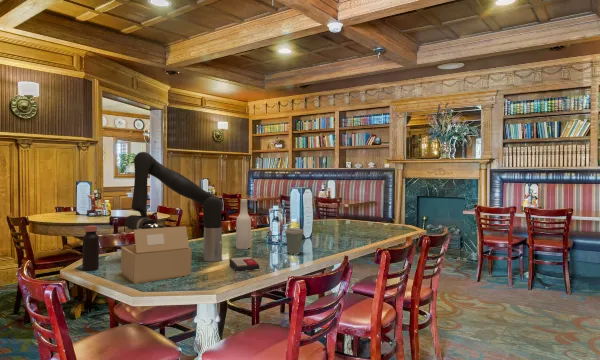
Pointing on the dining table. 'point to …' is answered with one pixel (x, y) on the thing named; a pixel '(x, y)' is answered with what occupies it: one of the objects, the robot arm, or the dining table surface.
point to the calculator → (243, 264)
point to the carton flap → (161, 239)
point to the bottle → (90, 249)
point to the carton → (155, 264)
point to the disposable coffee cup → (293, 240)
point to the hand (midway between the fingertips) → (158, 230)
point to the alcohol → (243, 227)
